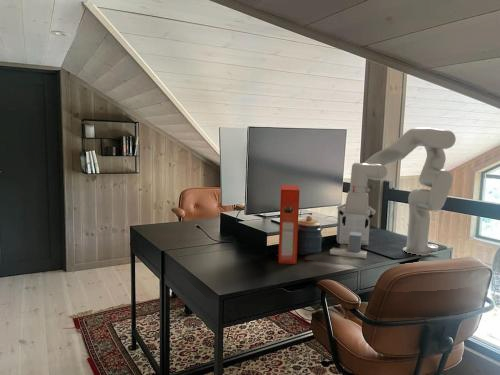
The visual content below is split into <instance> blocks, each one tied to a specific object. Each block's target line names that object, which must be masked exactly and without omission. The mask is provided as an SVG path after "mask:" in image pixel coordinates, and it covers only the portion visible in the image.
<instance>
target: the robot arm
mask: <svg viewBox="0 0 500 375" xmlns="http://www.w3.org/2000/svg"><path fill="white" fill-rule="evenodd" d="M456 138H457V137H456V134H454V132H452V131H451V130H447V129H438V128H433V127H432V128H431V127H414V128H410V129H408V130H407V131H406V132H404V133H403V134H402V135H401V136H400V137H399V138H397V139H396V140H395V141H394V142H393V143H392V144H390V145H389V146H387V147H385V148H384V149H381V150H379V151H377V152H375V153H374V154H373V155H371V156H370V157H369V158H367V159H366V160H365V161H364V162H362V163H361V162H353V163H352V165H351V172H350V173H351V174H350V183H349V184H350V185H349V191H348V192H347V194H346V199H345V203H343V204H341V205H337V207H336V208H337V212H338V211H339V213H340V214H341V215H342V217H343V218H342V223H343V226H344V225H345V223H346V215H347V214H356V215H364V216H365V217H366V220H365V228H366V227H367V226H368V222H369V219H370V220H371V218H373V217H374V215H375V214H376V213H377V211H376V209H374V208H372V207H371V206H370V205H369V193H368V192H371V188H369V187H368V180H369V179H370V180H373V181H381V180H383V179H385V178H386V177H387V175H388V170H387V167H386V165H388V164H392V163H397V162H399V161H402V160H404V159H405V158H406V157H407V156H408V155H409V154H410V153H412V152H413V151H414V150H415V149H417V147H424V149H425V151H426V158H425V161H424V165H423V166H422V169H421V172H420V174H419V177H418V178H419V179H418V182H419V184H420V185H421V186H422V187H425V188H414V189H412V190H411V191H410V193H409V194H408V199H407V200H408V225H407V236H406V246H405V247H403V248H402V251H403V252H404V251H405V252H407V254H408V253H411V254H410V255H412V254H416V255H415V256H419V255H421V256H422V257H425V256H426V257H427V256H430V255H431V251H432V252H436V253H437V252H439V247H437V246H436V247H435V246H430V245H429V232H430V225H431V224H430V222H431V214H430V212H438V211H441V209H442V208H443V207H444V206H445V203H446V201H447V199H448V196H449V194H450V190H451V188H452V185H453V181H454V180H453V175H452V173H451V171H449V170H447V169H444V167H445V163H446V160H447V158H446V157H447V156H446V154H445V153H446V152H445V151H444V150H448V149H451V148H452V147H453V146H454V145H455V143H456V141H457V140H456ZM426 188H427V189H426ZM428 188H429V189H428ZM343 207H345V212H344V213H343V212H342V210H341V208H343ZM368 210H370V211H371V212H370V215H369V216H368V214H367V213H368ZM405 252H404V253H405Z"/></svg>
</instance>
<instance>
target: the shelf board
mask: <svg viewBox="0 0 500 375" xmlns="http://www.w3.org/2000/svg"><path fill="white" fill-rule="evenodd" d="M367 253H368V251H365V250H360V253H358V252H350V251H349V250H348V248H340V247H332V248H331V249H329V255H334V256H340V257H342V256H343V257H350V258H356V259H357V258H359V259H367Z"/></svg>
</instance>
